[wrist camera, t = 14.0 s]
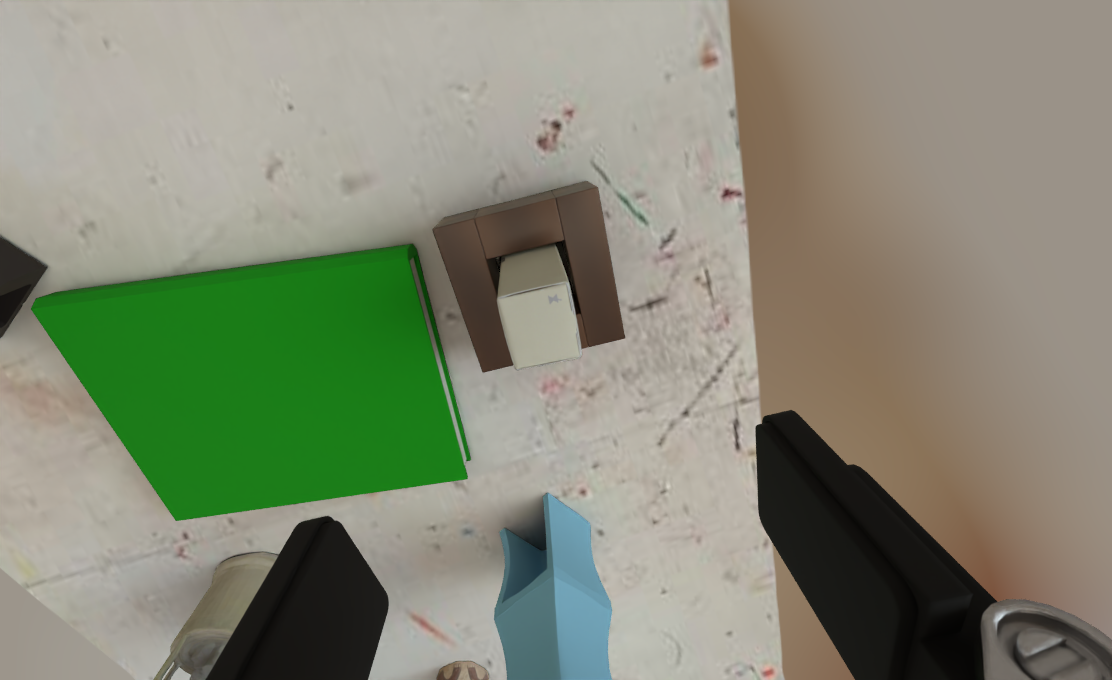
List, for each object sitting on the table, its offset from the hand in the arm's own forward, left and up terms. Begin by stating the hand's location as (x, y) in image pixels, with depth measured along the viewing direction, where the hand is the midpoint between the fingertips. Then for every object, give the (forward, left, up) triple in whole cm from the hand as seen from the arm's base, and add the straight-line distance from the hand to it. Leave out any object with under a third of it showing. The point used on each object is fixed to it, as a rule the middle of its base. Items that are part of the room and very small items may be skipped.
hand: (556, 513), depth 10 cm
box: (0, +2, -29) cm, 29 cm away
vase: (+6, +32, -29) cm, 44 cm away
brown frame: (0, +2, -29) cm, 29 cm away
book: (+24, +7, -29) cm, 38 cm away
